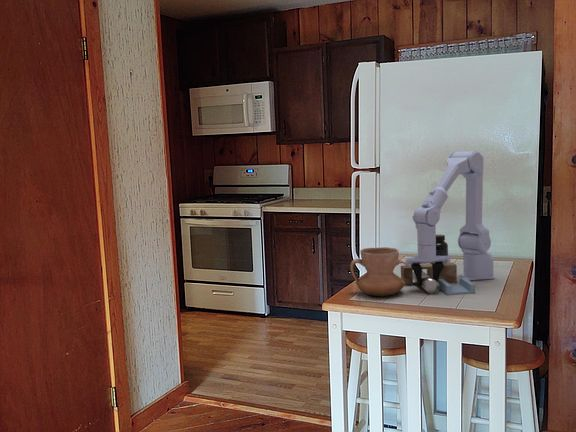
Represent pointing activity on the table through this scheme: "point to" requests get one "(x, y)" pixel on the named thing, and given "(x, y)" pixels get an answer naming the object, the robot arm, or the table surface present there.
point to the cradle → (457, 287)
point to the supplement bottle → (441, 246)
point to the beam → (430, 273)
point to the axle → (428, 283)
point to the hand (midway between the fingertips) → (427, 285)
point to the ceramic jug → (379, 271)
